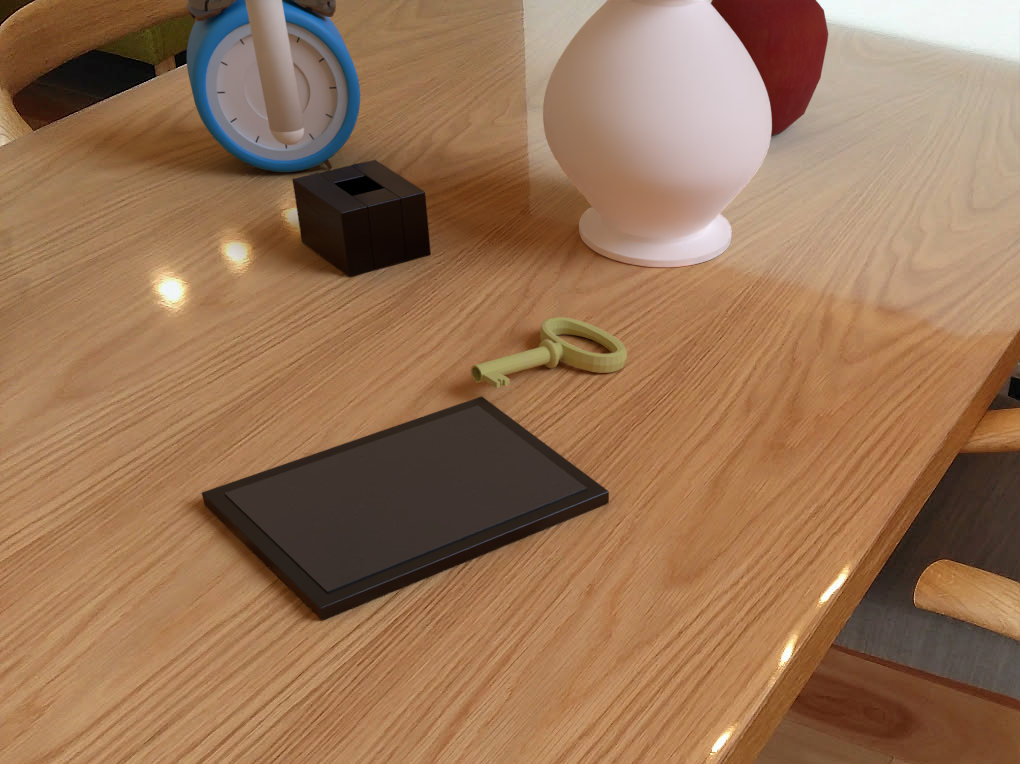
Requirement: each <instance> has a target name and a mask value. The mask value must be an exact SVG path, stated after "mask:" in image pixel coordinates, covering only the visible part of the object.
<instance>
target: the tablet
mask: <svg viewBox="0 0 1020 764" xmlns="http://www.w3.org/2000/svg"><path fill="white" fill-rule="evenodd" d="M201 497H202V501H203V505H204V506H205V507H206V508H207V509H208V510H209V511H210V512H211V513H212V514H213V515H214V516H215V517H216V518H217V519H218V520H219V521H220V522H222V524H223V525H225V526H226V527H227V529H229V530H230V532H232V534H233V535H235V536H236V537H237V539H239V540H240V541H241V542H242V544H244V545H245V547H247V548H248V549H249V551H251V552H252V553H253V554H254V555H255V556H256V557H257V558H258V559H259V561H261V562H262V563H263V564H264V565H265V566H266V567H267V568H268V569H269V570H270V571H271V572H272V573H273V574H274V575H276V577H278V579H279V580H281V581H282V582H283V583H284V584H285V586H287V587H288V588H289V589H290V591H292V593H294V594H295V595H296V596H297V597H298V598H299V599H300V600H301V601H302V602H303V603H304V604H305V605H306V606H307V607H308V608H309V609H310V610H311V611H312V612H313V613H314V614H315V615H316V616H317V617H318V618H319V619H320V620H321V621H325V620H327V619H330V618H332V617H335V616H337V615H340V614H342V613H345V612H347V611H350V610H352V609H354V608H357V607H359V606H361V605H364V604H366V603H368V602H371V601H373V600H374V601H375V600H376V599H379V598H381V597H383V596H385V595H388V594H391V593H393V592H395V591H398V590H400V589H403V588H405V587H408V586H410V585H413V584H415V583H418V582H420V581H422V580H425V579H427V578H429V577H432V576H434V575H437V574H440V573H442V572H445V571H447V570H449V569H451V568H454V567H456V566H459V565H461V564H464V563H466V562H468V561H472V560H474V559H476V558H478V557H481V556H483V555H485V554H488V553H490V552H493V551H495V550H497V549H500V548H503V547H505V546H507V545H510V544H513V543H515V542H517V541H519V540H523V539H525V538H528V537H529V536H532V535H534V534H537V533H539V532H542V531H544V530H547V529H549V528H551V527H553V526H556V525H558V524H562V523H563V522H565V521H569V520H570V519H573V518H576V517H579V516H580V515H583V514H585V513H588V512H590V511H593V510H595V509H597V508H599V507H602V506H605V505H607V504H609V503H610V491H609V490H608V489H606V488H605V487H604V486H602V485H601V484H600V483H598V482H597V481H596V480H595V479H594V478H592V477H591V476H589V475H588V474H586V473H585V472H584V471H582V470H581V469H580V468H579V467H577V465H574V463H572V462H570V461H569V460H568V459H567V458H565V457H564V456H562V455H561V454H559V452H557V451H556V450H555V449H553V448H552V447H551V446H549V445H548V444H546V442H544V441H542V440H541V439H540V438H539V437H537V436H536V435H535V434H533V433H532V432H530V431H529V430H528V429H527V428H525V427H524V426H523V425H521V424H520V423H518V422H517V421H515V420H514V419H513V418H512V417H510V416H509V415H508V414H506V413H505V412H504V411H503V410H501V409H499V408H498V406H496V405H494V404H493V403H492V402H490V401H489V400H487V398H485V397H484V396H479V397H476V398H473V399H470V400H468V401H464V402H461V403H459V404H455V405H452V406H450V407H447V408H444V409H441V410H438V411H435V412H433V413H432V412H431V413H429V414H427V415H424V416H420V417H418V418H415V419H412V420H409V421H405V422H403V423H400V424H397V425H394V426H391V427H388V428H385V429H383V430H380V431H377V432H374V433H371V434H368V435H364V436H362V437H360V438H357V439H353V440H351V441H347V442H345V443H342V444H339V445H336V446H333V447H330V448H327V449H324V450H322V451H319V452H315V453H313V454H309V455H307V456H304V457H301V458H297V459H295V460H292V461H290V462H287V463H284V464H280V465H277V466H274V467H272V468H269V469H266V470H262V471H260V472H257V473H254V474H252V475H248V476H246V477H243V478H240V479H237V480H234V481H232V482H227V483H225V484H223V485H219V486H216V487H213V488H210V489H207V490H205V491H201Z"/></svg>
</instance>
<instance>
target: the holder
mask: <svg viewBox="0 0 1020 764" xmlns="http://www.w3.org/2000/svg"><path fill="white" fill-rule="evenodd" d="M291 181H292V187H293V193H294V198H295V205H296V206H295V207H296V212H297V219H298V226H299V232H300V233H299V234H300V239H301V243H303V244H304V245H305V246H307V247H308V248H309V249H310V250H311V251H313V252H314V253H316V254H317V255H319V256H320V257H321V258H323V259H324V260H325V261H327V262H328V263H330V264H331V265H332V266H333V267H335V268H337V269H338V270H339V271H340V272H342V273H343V274H344V275H346V276H347V277H349V278H351V277H355V276H358V275H361V274H366V273H369V272H373V271H377V270H380V269H383V268H387V267H391V266H395V265H398V264H401V263H402V264H403V263H404V262H409V261H413V260H417V259H420V258H424V257H427V256H430V255H432V254H431V241H430V231H429V229H430V228H429V219H428V207H427V198H426V197H427V196H426V191H424V190H423V189H421V188H420V187H419V186H418V185H415V184H414V183H412V182H411V181H409V180H408V179H407V178H404V177H403V176H402V175H400V174H399V173H397V172H396V171H394V170H392V169H391V168H389V167H387V166H386V165H384V164H383V163H382V162H380V161H378V160H377V159H372V160H368V161H363V162H360V163H355V164H350V165H346V166H342V167H338V168H334V169H333V168H332V169H329V170H325V171H321V172H316V173H311V174H308V175H303V176H299V177H293V178H292V179H291Z"/></svg>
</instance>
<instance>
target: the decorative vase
mask: <svg viewBox="0 0 1020 764" xmlns="http://www.w3.org/2000/svg"><path fill="white" fill-rule="evenodd" d="M542 119H543V121H542V122H543V129H544V131H543V132H544V135H545V139H546V142H547V144H548V147H549V150H550V152H551V153H552V156H553V157H554V159H555V160H556V162H557V163H558V165H559V167H560V168H561V170H562V171H563V172H564V173H565V175H566V176H567V178H568V179H569V180H570V181H571V183H572V184H573V185H574V186H575V188H576V189H577V190H578V192H579V193H580V194H581V195H582V196H583V197H584V199H585V200H586V201H587V202H588V203H589V205H590V207H588V208H587V209H586V210H585V211H583V213H582V214H581V216H580V217H579V221H578V233H579V236H580V238H581V240H582V242H583V243H584V244H585V245H586V246H587V247H588V248H589V249H591V250H592V251H593V252H595V253H597V254H599V255H601V256H603V257H605V258H608V259H610V260H613V261H616V262H620V263H623V264H628V265H633V266H639V267H648V268H680V267H687V266H692V265H693V266H694V265H698V264H701V263H705V262H708V261H710V260H713V259H715V258H717V257H719V256H720V255H722V254H723V253H724V252H725V251H727V249H728V248H729V246H730V245H731V243H732V234H733V232H732V231H733V230H732V226H731V223H730V222H729V221H728V219H727V218H726V217H725V215H722V212H723V211H724V210H725V209H726V208H727V207H728V206H729V205H730V204H731V203H732V202H733V201H734V199H735V198H736V197H737V196H739V194H740V193H741V192H743V191H742V190H744V189H745V187H746V186H747V185H748V184H749V183H750V181H752V179H753V178H754V177H755V175H756V174H757V172H758V171H759V169H760V168H761V166H762V165H763V163H764V161H765V159H766V157H767V154H768V152H769V148H770V145H771V139H772V135H771V131H772V116H771V107H770V101H769V97H768V93H767V90H766V88H765V85H764V82H763V80H762V78H761V76H760V73H759V71H758V69H757V68H756V66H755V64H754V62H753V60H752V58H751V57H750V55H749V53H748V52H747V50H746V48H745V47H744V45H743V44H742V42H741V41H740V39H739V38H738V37H737V35H736V34H735V33H734V31H733V30H732V29H731V27H730V26H729V25H728V24H727V22H726V21H725V20H724V19H723V18H722V16H721V15H720V14H719V13H718V12H717V10H716V9H715V8H714V7H713V6H712V5H711V1H709V0H606V1H605V2H604V3H603V4H602V5H601V6H600V7H599V8H598V9H597V10H596V11H595V12H594V13H593V14H592V15H591V16H590V17H589V18H588V20H586V22H584V24H583V25H582V26H581V27H580V28H579V30H578V31H577V32H576V33H575V34H574V36H573V37H572V38H571V40H570V41H569V43H568V44H567V46H566V47H565V48H564V50H563V52H562V53H561V55H560V57H559V58H558V60H557V62H556V64H555V65H554V68H553V69H552V72H551V74H550V76H549V79H548V82H547V84H546V89H545V92H544V99H543V108H542Z"/></svg>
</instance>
